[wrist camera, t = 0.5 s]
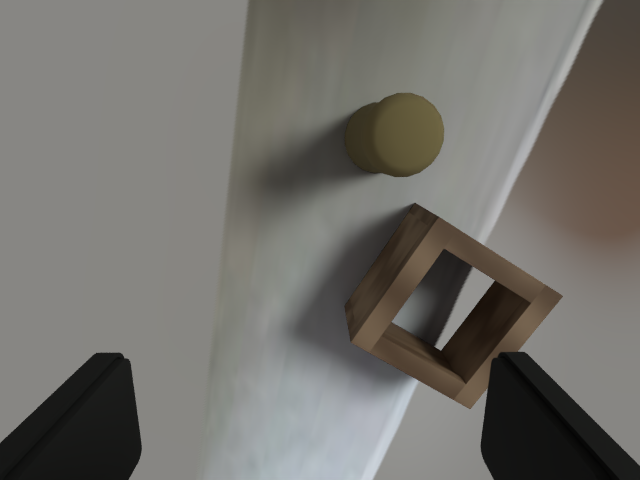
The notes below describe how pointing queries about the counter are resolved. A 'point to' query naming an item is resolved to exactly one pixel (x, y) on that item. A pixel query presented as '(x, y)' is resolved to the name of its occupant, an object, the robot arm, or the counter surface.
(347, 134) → the cork
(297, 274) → the counter surface
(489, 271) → the box
